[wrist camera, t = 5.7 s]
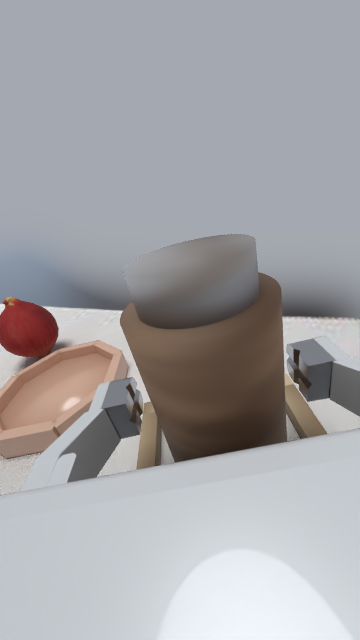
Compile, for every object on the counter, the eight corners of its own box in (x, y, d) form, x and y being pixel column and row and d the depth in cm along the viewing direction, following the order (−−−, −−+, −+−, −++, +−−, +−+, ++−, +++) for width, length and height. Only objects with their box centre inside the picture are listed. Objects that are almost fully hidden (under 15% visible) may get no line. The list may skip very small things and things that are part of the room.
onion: (28, 351, 31) (-8, 296, 27) (72, 337, 32) (43, 281, 28) (11, 379, 26) (-35, 314, 22) (64, 361, 27) (27, 296, 23)
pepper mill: (188, 543, 10) (75, 305, 5) (182, 436, 15) (120, 255, 10) (310, 523, 10) (322, 246, 5) (265, 420, 14) (246, 224, 9)
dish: (-38, 467, 17) (-55, 451, 16) (38, 368, 26) (30, 355, 26) (111, 437, 16) (101, 419, 15) (133, 347, 26) (127, 333, 25)
